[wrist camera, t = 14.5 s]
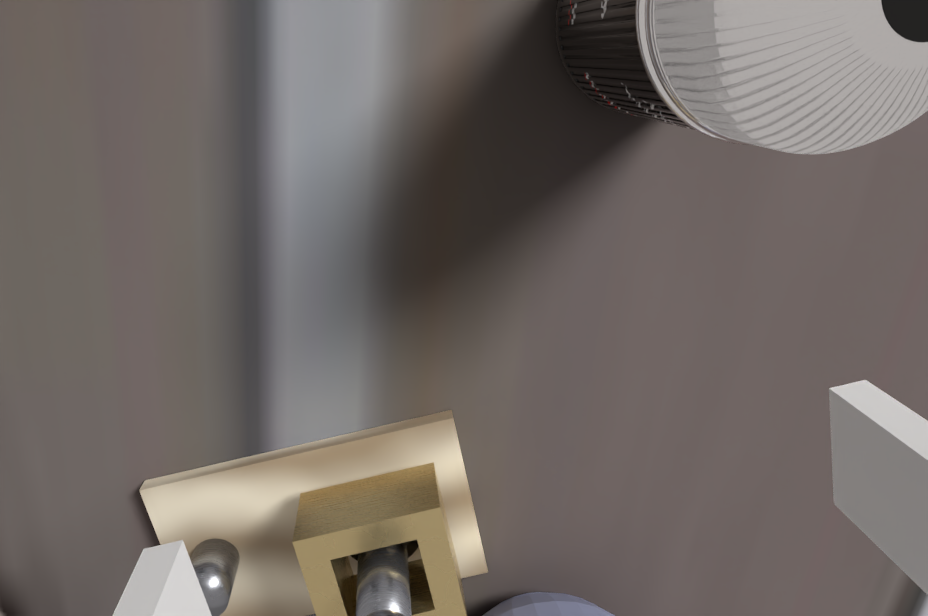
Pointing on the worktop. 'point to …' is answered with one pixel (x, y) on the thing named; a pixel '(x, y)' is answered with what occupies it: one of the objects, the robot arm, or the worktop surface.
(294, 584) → the birch board
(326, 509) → the brass collar
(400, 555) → the tall steel post
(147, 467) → the worktop surface
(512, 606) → the bowl
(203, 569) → the short steel post
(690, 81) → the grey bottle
